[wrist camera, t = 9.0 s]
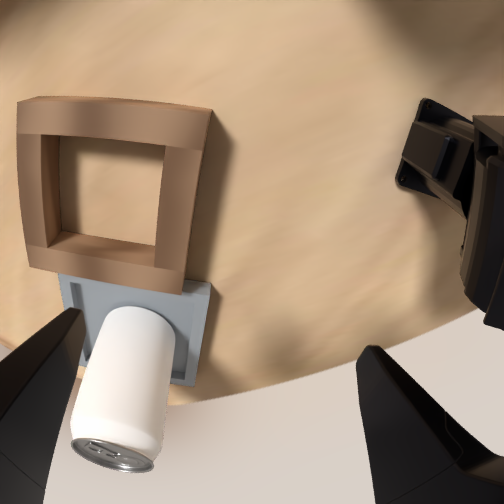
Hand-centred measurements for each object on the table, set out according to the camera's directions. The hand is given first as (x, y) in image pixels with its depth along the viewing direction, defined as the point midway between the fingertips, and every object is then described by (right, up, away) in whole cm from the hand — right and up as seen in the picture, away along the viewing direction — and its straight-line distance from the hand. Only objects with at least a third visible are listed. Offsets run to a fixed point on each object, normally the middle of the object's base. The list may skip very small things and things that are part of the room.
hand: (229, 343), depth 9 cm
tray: (-10, -4, +17) cm, 20 cm away
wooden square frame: (-9, +7, +10) cm, 15 cm away
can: (-9, -4, +17) cm, 19 cm away
